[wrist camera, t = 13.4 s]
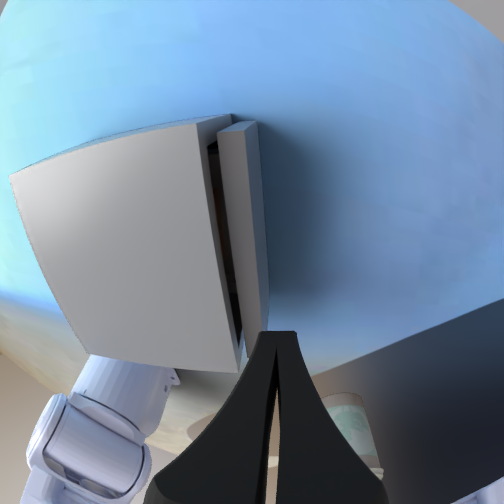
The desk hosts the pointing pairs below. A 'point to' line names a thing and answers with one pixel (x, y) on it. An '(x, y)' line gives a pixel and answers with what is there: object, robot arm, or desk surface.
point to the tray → (243, 223)
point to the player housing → (136, 245)
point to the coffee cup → (354, 426)
